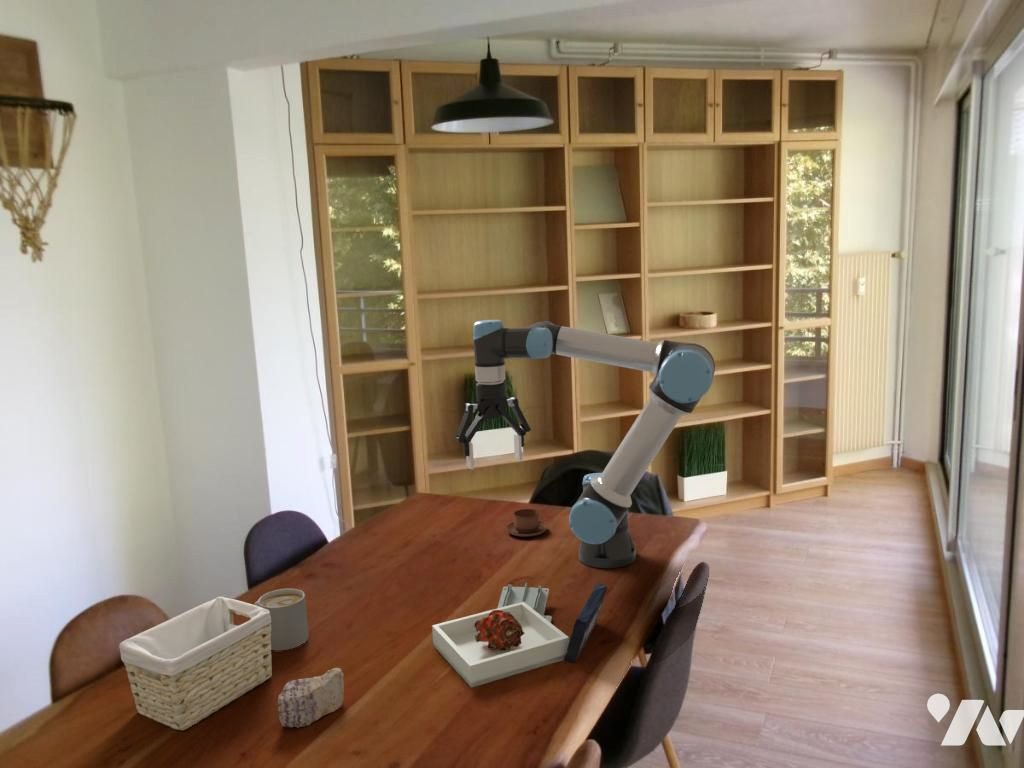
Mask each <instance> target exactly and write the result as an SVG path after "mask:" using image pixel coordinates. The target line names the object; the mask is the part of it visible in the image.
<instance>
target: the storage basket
mask: <svg viewBox="0 0 1024 768" xmlns="http://www.w3.org/2000/svg"><path fill="white" fill-rule="evenodd" d="M233 614H236V615H237V616H243V617H245V618H249V620H248V621H246V622H244V623H242V624H239V625H237V624H234V615H233ZM270 632H271V616H270V612H269V610H267V609H264V608H262V607H259V606H256V605H254V604H252V603H248V602H245V601H241V600H238V599H234V598H228V597H225V596H218V597H216V598H214V599H212V600H209V601H206V602H204V603H201V604H200V605H198V606H195V607H194V608H191V609H189V610H186V611H185V612H183V613H181V614H178V615H177V616H174V617H173V618H170V619H168V620H166V621H164V622H162V623H159V624H157V625H156V626H154V627H151V628H149V629H147V630H144V631H142V632H140V633H137V634H135V635H134V636H131V637H128V638H127V639H124V640H122V642H120V643H119V647H118V648H119V651H120V658H121V661H122V662H123V664H124V666H125V671H126V672H127V677H128V678H127V679H128V682H129V683H130V690H131V693H132V696H133V699H134V703H135V708H136V710H137V712H138V714H140V715H141V716H145V717H147V718H148V719H151V720H154V721H155V722H158V723H160V724H162V725H165V726H167V727H170V728H171V729H174V730H178V731H185V730H188V729H189V728H190V727H193V726H194V724H195V725H196V724H198V723H199V722H200V721H202V720H203V719H206V718H207V717H209V716H210V715H211V714H213V713H215V712H218V711H219V710H220V709H221V708H224V707H225V706H227V705H229V704H230V703H231V702H233V701H234V700H236V699H239V698H240V697H242V696H243V695H245V693H247V692H249V691H251V690H253V689H254V688H256V687H257V686H260V685H261V684H263V683H264V682H265V681H267V680H269V679H270V678H271V677H272V676H273V674H272V673H273V671H272V669H273V667H272V666H273V665H272V659H273V658H272V651H271V634H270ZM192 725H193V726H192Z"/></svg>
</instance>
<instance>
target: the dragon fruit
mask: <svg viewBox="0 0 1024 768" xmlns="http://www.w3.org/2000/svg"><path fill="white" fill-rule="evenodd" d="M491 610H492V612H490V614H489V616H487V617H483V618H482V619H480V620H477V621H476V622H475V625H474V626H475V627H476V630H477V632H478V631H480V633H478V634H477V635H475V640H476V642H479V641H481V642H488V648H489V649H490V650H495V649H496V648H498V647H499V649H500V650H502V651H506V650H510V648H511V646H513V647H517V646H519V645H520V644H521V636H522V635H523V634H525V633H524V632H523V630H522V627H521V625H520V623H519V622H518V621H517V620H516V619H515V617H514V616H513V615H512V614H511V613H509V612H503V611H502V610H493V609H491ZM472 627H473V626H472Z"/></svg>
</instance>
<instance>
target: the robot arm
mask: <svg viewBox="0 0 1024 768" xmlns="http://www.w3.org/2000/svg"><path fill="white" fill-rule="evenodd" d="M472 329H473V333H472V334H473V335H472V336H473V338H472V342H473V353H474V354H473V356H474V372H475V381H476V384H475V391H476V392H475V393H476V403H469V402H466V403H465V405H464V413H463V416H462V417H461V419H460V420H461V421H460V424H459V426H458V428H457V431H456V433H455V436H454V441H456V442H458V443H461V444H462V445H461V447H462V454H463V456H464V457H466V468H468V469H470V470H474V469H475V466H474V465H475V464H474V448H473V447H474V446H473V445H474V443H472V442H471V441H472V439H473V438H474V436H475V435H476V433H477V432H478V430H479V429H480V427H481V426H482V424H483V423H484V422H485V421H486V420H492V419H499V418H502V419H503V420H504V421H505V423H507V424H508V425H509V426H510V427H511V428H512V429H513V431H514V432H515V433H513V447H514V449H513V450H514V460H516V461H518V462H522V461H523V452H522V448H523V447H525V436H526V435H527V433H528V432H531V426H530V424H529V423H528V421H527V419H526V418H525V415H524V413H523V411H522V410H521V407H520V405H519V399H518V398H516V397H513V396H511V397H509V398H508V399H507V383H506V382H505V380H506V364H505V363H506V361H505V359H534V360H538V359H547V358H549V357H550V356H551V355H557V356H563V357H568V358H574V359H580V360H584V361H588V362H589V361H591V362H596V363H600V364H605V365H611V366H615V367H621V368H627V369H632V370H636V371H637V370H638V371H643V372H648V373H652V374H653V375H654V378H653V379H652V381H651V383H650V384H649V385H648V391H649V398H648V400H647V401H646V403H645V404H644V406H643V408H642V409H641V411H640V412H639V414H638V416H637V417H636V418H635V421H634V422H633V423H632V425H631V426H630V429H629V430H628V431H627V433H626V435H625V436H624V438H623V439H622V441H621V442H620V444H619V446H618V447H617V449H616V450H615V452H614V453H613V455H612V457H611V458H610V460H609V462H608V463H607V465H606V466H605V468H604V470H603V471H602V472H593V473H588V474H585V475H584V477H583V479H582V483H581V485H582V490H583V491H582V493H581V495H580V496H579V497H578V499H577V500H576V502H575V503H574V505H572V507H571V509H570V510H569V511H570V513H569V516H568V522H569V527H570V529H571V531H572V533H573V534H574V535H575V537H576V538H578V539H579V540H580V545H579V548H578V559H579V561H580V562H581V563H582V564H584V565H586V566H589V567H593V568H597V569H617V568H618V569H619V568H622V567H626V566H629V565H631V564H633V563H634V562H635V561H636V559H637V554H636V552H637V551H636V547H635V544H634V542H633V539H632V536H631V533H630V530H629V509H630V508H631V506H632V505H633V501H632V498H631V495H632V494H633V491H634V490H635V489H636V487H637V485H638V484H639V483H640V481H641V479H642V478H643V477H644V474H645V473H646V471H647V470H648V469H649V467H650V466H651V464H652V462H653V461H654V459H655V458H656V457H657V455H658V453H659V452H660V450H661V448H662V447H663V445H664V444H665V442H666V441H667V439H668V438H669V436H670V434H671V433H672V432H673V430H674V429H675V428H676V425H677V424H678V422H679V421H680V419H681V418H682V417H683V416H687V415H691V414H692V413H693V411H694V410H695V408H696V407H697V405H698V403H700V401H701V400H702V398H703V397H704V395H706V394H707V393H708V391H709V390H710V388H711V387H712V383H713V381H714V375H715V371H716V362H715V359H714V356H713V354H712V353H711V352H710V351H709V350H708V349H707V348H706V347H704V346H702V345H701V344H698V343H694V342H683V341H674V340H668V339H667V340H666V339H663V340H661V341H659V342H657V341H656V342H654V341H649V340H643V339H637V338H632V337H625V336H619V335H615V334H608V333H603V332H597V331H592V330H587V329H581V328H576V327H575V328H574V327H569V326H563V325H562V326H561V325H557V324H554V323H552V322H551V321H546V320H545V321H543V320H540V321H537V322H535V323H533V324H530V325H528V326H525V327H514V328H512V327H511V328H509V327H505V325H504V322H503V321H502V320H500V319H485V320H484V319H482V320H478V321H475V323H474V324H473V327H472ZM508 406H509V407H510V408H511V410H512V412H513V414H514V416H515V418H516V420H517V422H518V423H517V422H516V421H515V420H514V419H513V418H512V416H511V415H510V414H509V412H507V410H506V408H507V407H508ZM476 410H477V411H478V412H477V413H476V415H475V417H474V420H472V418H473V415H474V413H475V412H476ZM471 420H472V423H471ZM470 423H471V424H470Z"/></svg>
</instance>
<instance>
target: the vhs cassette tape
mask: <svg viewBox="0 0 1024 768" xmlns="http://www.w3.org/2000/svg"><path fill="white" fill-rule="evenodd" d="M607 590H608V586H607V585H604V584H602V583H599V582H597V583H596V585H595V587H594V588H593V590H592V592H591V593H590V595H589V596H588V598H587V601H586V602H585V604H584V605H583V607H582V608H581V610H580V613H579V614H578V616H577V618H576V619H575V622H574V624H573V629H572V632H571V634H570V637H569V645H568V648H567V652H566V655H565V658H564V660H563V661H565V662H566V663H567V662H568V663H571V664H576V662H577V661H578V659H579V658H580V657H579V656H580V655H581V654H582V651H583V649H584V647H585V646H586V644H587V643H588V640H589V638H590V636H591V634H592V632H593V631H594V629H595V626H596V624H597V623H598V618H599V615H600V613H601V610H602V606H603V603H604V599H605V596H606V594H607V593H606V592H607Z"/></svg>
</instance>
